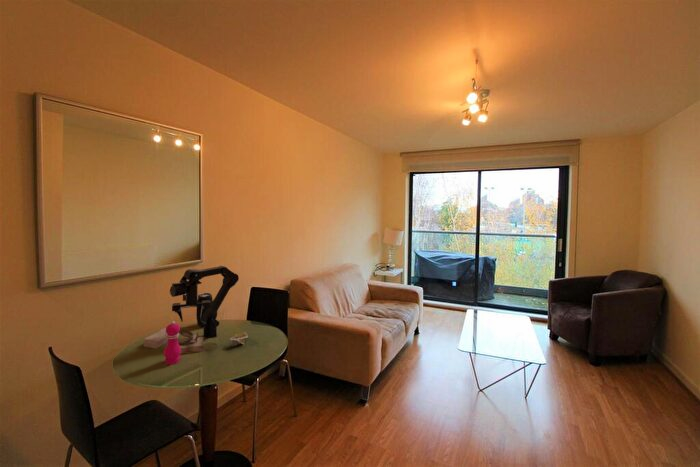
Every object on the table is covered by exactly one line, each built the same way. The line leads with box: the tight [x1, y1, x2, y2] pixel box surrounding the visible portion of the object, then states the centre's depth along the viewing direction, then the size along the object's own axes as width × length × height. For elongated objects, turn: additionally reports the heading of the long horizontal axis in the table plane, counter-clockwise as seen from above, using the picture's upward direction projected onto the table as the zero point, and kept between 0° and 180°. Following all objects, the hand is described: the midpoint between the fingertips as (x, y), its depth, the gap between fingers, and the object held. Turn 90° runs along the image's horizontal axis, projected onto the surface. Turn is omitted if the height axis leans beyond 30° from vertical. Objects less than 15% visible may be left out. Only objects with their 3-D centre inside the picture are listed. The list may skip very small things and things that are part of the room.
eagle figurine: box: [178, 329, 200, 345], centre depth 168 cm, size 8×7×9 cm
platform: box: [229, 332, 248, 347], centre depth 176 cm, size 12×18×7 cm, turn 135°
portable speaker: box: [196, 292, 214, 328], centre depth 200 cm, size 9×9×20 cm
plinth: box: [178, 336, 204, 355], centre depth 169 cm, size 12×12×3 cm
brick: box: [143, 327, 168, 349], centre depth 175 cm, size 17×8×5 cm, turn 173°
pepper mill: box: [163, 320, 181, 365], centre depth 153 cm, size 7×7×20 cm
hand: (191, 320), depth 175 cm, fingers open, 9 cm apart
